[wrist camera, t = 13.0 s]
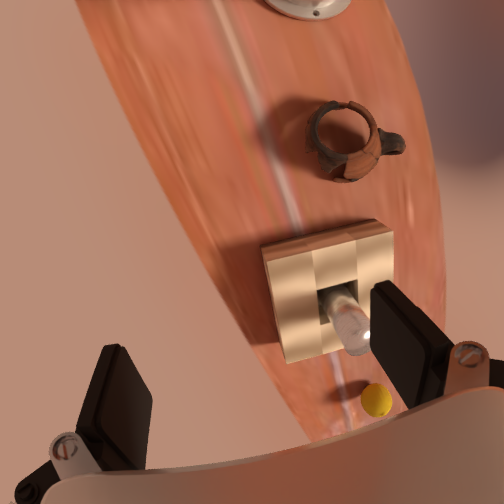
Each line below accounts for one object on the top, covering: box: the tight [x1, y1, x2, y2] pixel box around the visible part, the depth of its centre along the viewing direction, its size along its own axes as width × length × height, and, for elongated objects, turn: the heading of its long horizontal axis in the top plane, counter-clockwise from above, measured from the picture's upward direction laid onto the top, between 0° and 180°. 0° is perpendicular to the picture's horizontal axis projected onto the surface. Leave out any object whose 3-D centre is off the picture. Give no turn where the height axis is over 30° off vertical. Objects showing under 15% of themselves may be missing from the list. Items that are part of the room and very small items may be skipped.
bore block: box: [260, 219, 394, 364], centre depth 42 cm, size 16×16×5 cm
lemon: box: [361, 383, 392, 417], centre depth 50 cm, size 6×6×8 cm
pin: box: [316, 283, 371, 356], centre depth 37 cm, size 4×4×12 cm
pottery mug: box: [305, 100, 406, 183], centre depth 34 cm, size 12×10×8 cm
